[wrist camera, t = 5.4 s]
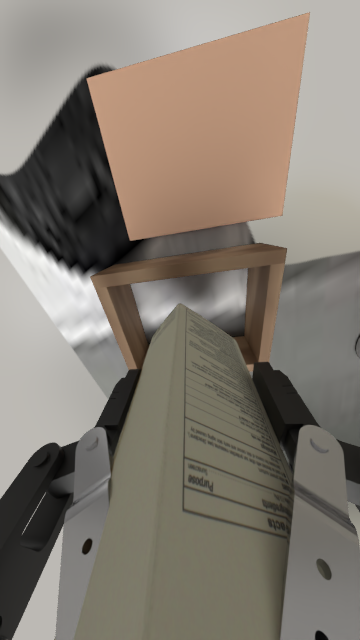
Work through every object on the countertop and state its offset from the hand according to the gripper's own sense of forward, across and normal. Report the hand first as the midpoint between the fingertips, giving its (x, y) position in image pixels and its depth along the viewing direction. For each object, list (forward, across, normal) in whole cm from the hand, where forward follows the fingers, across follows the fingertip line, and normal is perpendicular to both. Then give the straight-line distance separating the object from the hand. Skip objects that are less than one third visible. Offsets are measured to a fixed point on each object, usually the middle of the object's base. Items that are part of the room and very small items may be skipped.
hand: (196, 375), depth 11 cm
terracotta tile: (+10, -2, -13) cm, 17 cm away
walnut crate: (+10, 0, 0) cm, 10 cm away
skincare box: (+4, 0, 0) cm, 4 cm away
